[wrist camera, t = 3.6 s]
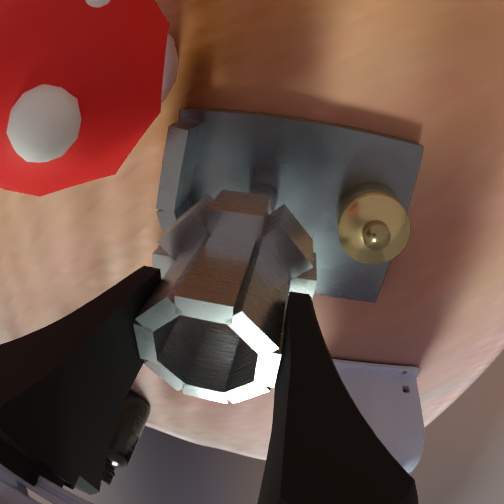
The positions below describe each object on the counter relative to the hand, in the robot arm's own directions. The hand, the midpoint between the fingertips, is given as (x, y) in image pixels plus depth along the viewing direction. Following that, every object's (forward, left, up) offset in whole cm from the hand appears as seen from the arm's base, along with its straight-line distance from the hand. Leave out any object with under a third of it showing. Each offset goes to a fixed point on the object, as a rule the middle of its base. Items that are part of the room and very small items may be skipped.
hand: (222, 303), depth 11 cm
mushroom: (+9, -7, -10) cm, 15 cm away
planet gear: (0, +1, -3) cm, 3 cm away
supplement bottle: (+14, +29, -10) cm, 34 cm away
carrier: (-2, +1, -10) cm, 10 cm away
